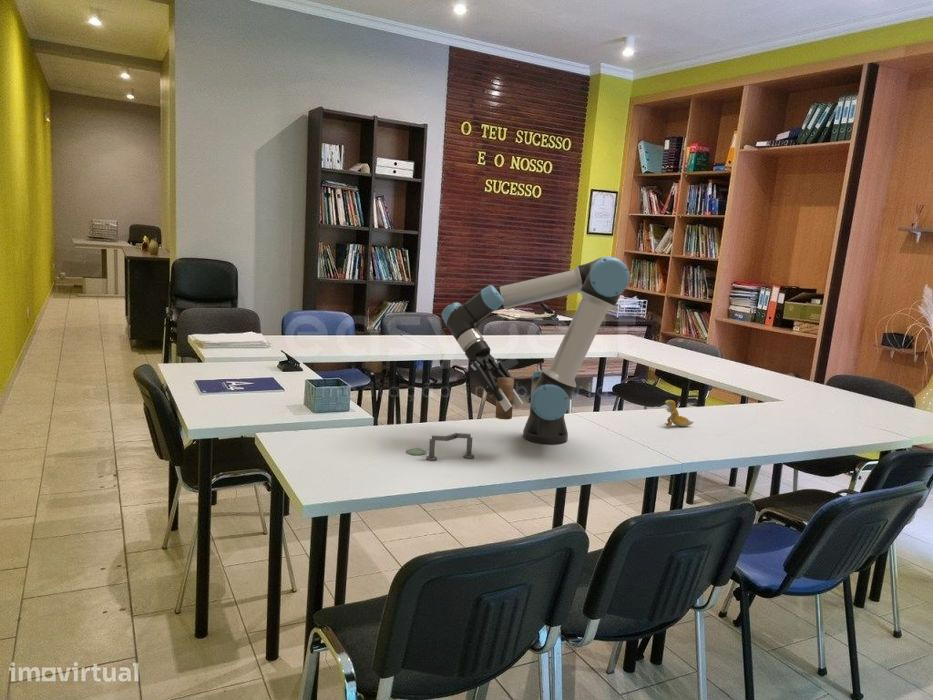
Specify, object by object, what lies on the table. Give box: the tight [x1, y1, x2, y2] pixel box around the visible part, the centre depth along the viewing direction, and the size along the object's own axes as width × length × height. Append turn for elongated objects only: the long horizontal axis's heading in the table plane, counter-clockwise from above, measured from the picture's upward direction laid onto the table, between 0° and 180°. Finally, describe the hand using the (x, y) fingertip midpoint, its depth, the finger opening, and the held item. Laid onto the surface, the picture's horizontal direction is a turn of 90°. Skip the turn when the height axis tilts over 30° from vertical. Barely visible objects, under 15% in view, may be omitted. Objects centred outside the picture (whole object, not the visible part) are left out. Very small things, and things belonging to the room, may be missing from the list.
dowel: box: [495, 377, 515, 421], centre depth 203 cm, size 5×5×12 cm
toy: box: [664, 399, 694, 429], centre depth 254 cm, size 7×15×10 cm, turn 108°
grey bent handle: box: [425, 432, 475, 462], centre depth 199 cm, size 15×4×7 cm, turn 113°
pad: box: [406, 447, 427, 456], centre depth 204 cm, size 6×6×1 cm
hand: (514, 407), depth 201 cm, fingers closed on dowel, 5 cm apart
